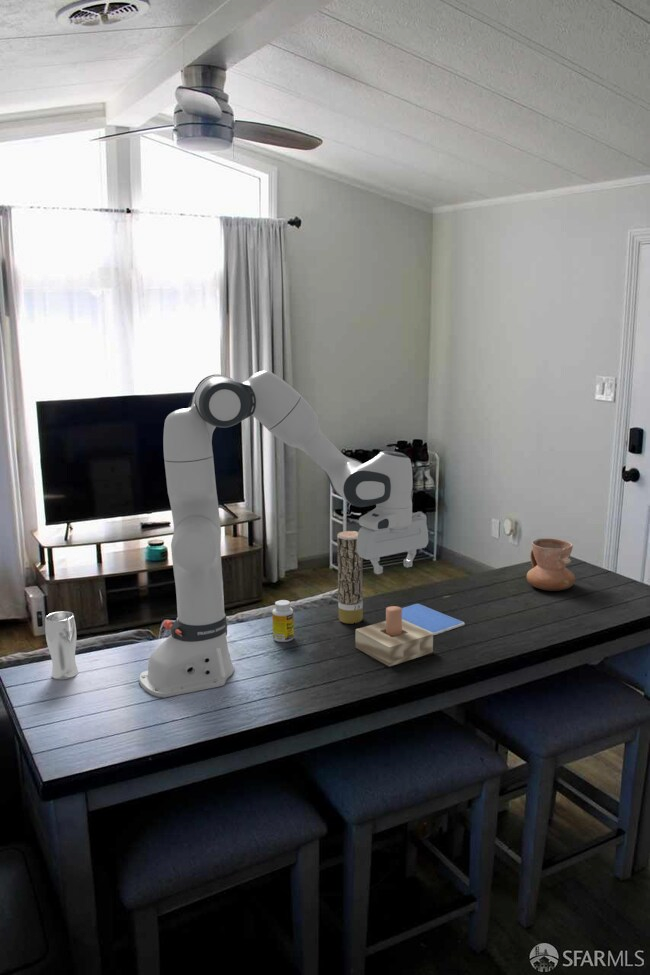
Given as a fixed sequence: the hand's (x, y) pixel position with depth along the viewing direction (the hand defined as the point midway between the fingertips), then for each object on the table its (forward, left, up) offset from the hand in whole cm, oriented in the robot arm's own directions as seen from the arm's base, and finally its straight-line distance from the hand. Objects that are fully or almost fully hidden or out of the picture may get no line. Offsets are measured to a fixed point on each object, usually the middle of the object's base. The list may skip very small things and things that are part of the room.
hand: (393, 569), depth 199 cm
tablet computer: (+20, +11, -22) cm, 32 cm away
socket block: (0, 0, -21) cm, 21 cm away
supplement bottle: (-19, +23, -22) cm, 37 cm away
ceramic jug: (+69, +9, -22) cm, 73 cm away
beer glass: (-73, +36, -22) cm, 84 cm away
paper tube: (+3, +23, -22) cm, 32 cm away
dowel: (0, 0, -20) cm, 20 cm away
